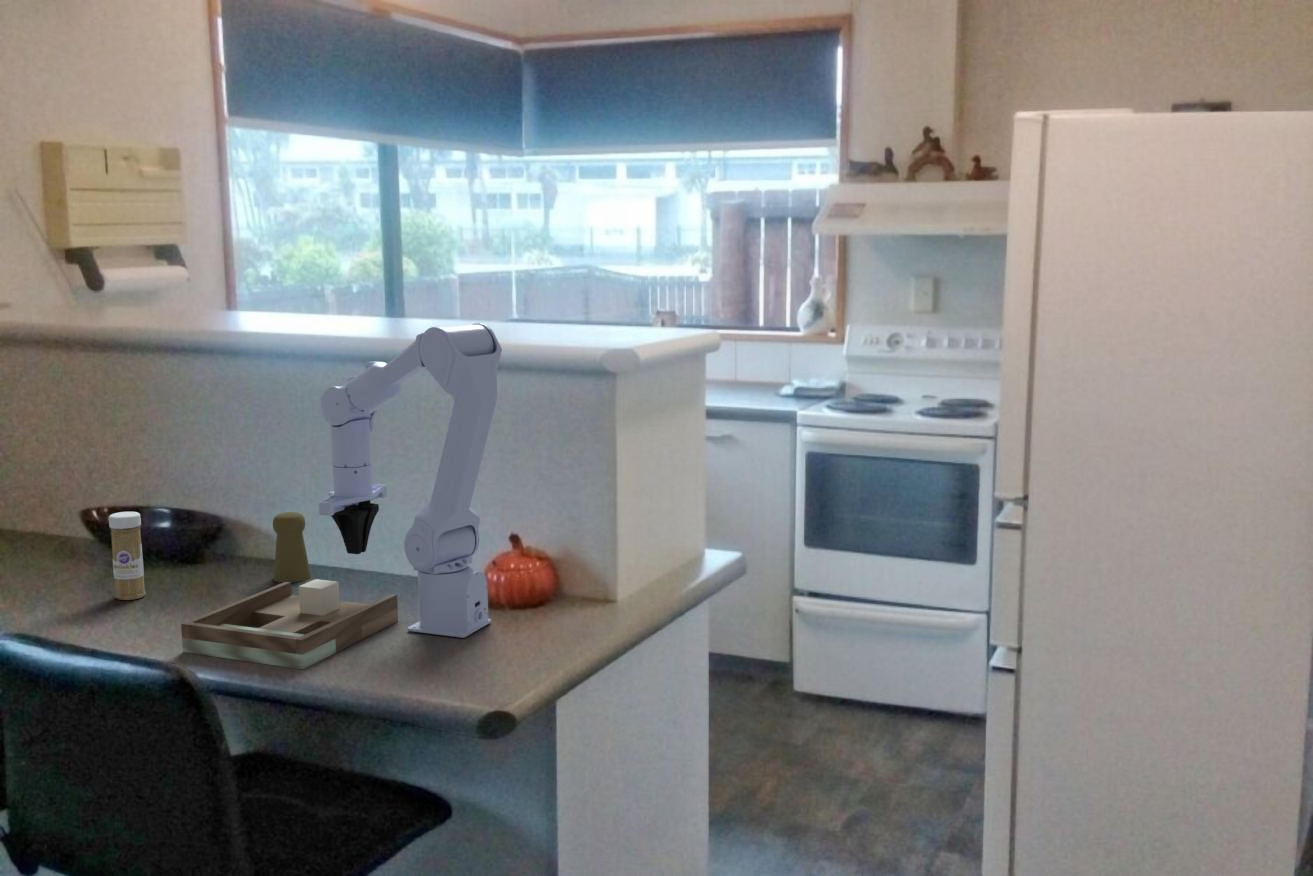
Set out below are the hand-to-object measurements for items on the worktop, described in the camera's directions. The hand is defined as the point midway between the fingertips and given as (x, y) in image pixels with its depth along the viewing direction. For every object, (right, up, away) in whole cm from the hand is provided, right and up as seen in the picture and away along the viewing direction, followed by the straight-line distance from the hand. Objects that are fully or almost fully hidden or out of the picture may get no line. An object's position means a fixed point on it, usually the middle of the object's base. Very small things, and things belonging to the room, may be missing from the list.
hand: (356, 552), depth 188 cm
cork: (-15, -6, +17) cm, 24 cm away
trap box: (-6, -11, -13) cm, 18 cm away
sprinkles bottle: (-37, -8, +7) cm, 39 cm away
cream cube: (-4, -8, -8) cm, 11 cm away
